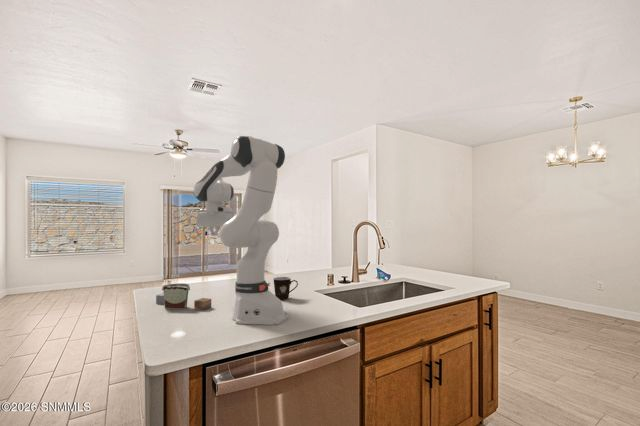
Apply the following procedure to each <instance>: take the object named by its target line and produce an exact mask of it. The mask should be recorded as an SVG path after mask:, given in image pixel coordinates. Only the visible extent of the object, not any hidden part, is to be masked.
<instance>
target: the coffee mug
mask: <svg viewBox="0 0 640 426" xmlns="http://www.w3.org/2000/svg"><path fill="white" fill-rule="evenodd" d="M293 282H296V285H295V287H294V288H293V289H292V288H291V284H292V283H293ZM298 285H299V283H298V281H297V280H295V279H291V277H290V276H289V277H288V276H277V277H273V287H274V295H275V296H276V297H277V298H279V299H280V300H281V301H286V300H289V299H290V298H289V297H290V293H291V292H293V291H294V290H295V289H297V288H298ZM290 288H291V290H290Z"/></svg>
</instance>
